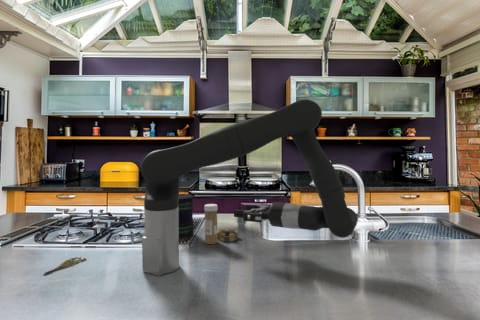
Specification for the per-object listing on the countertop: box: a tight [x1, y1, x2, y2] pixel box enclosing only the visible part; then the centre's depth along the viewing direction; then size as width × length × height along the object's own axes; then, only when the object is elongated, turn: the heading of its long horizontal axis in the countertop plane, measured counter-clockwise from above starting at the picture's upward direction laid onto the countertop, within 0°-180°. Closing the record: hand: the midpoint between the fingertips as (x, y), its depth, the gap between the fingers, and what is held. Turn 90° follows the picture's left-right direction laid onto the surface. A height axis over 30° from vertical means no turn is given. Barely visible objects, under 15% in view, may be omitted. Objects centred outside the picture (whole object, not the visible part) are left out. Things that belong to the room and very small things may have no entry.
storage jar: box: [178, 193, 195, 240], centre depth 115 cm, size 10×10×15 cm
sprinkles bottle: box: [204, 203, 219, 245], centre depth 107 cm, size 5×5×14 cm
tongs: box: [43, 256, 87, 276], centre depth 87 cm, size 4×13×2 cm, turn 165°
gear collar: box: [217, 228, 238, 242], centre depth 112 cm, size 7×7×2 cm
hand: (240, 210), depth 101 cm, fingers open, 8 cm apart
